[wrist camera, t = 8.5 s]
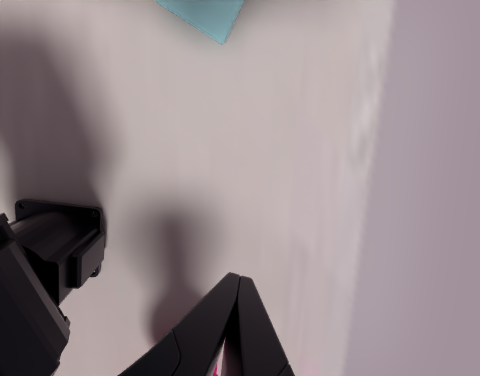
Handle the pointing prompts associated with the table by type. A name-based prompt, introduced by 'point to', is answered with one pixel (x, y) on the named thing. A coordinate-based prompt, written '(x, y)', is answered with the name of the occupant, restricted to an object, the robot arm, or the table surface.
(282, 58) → the table surface
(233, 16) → the domino
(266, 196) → the table surface
